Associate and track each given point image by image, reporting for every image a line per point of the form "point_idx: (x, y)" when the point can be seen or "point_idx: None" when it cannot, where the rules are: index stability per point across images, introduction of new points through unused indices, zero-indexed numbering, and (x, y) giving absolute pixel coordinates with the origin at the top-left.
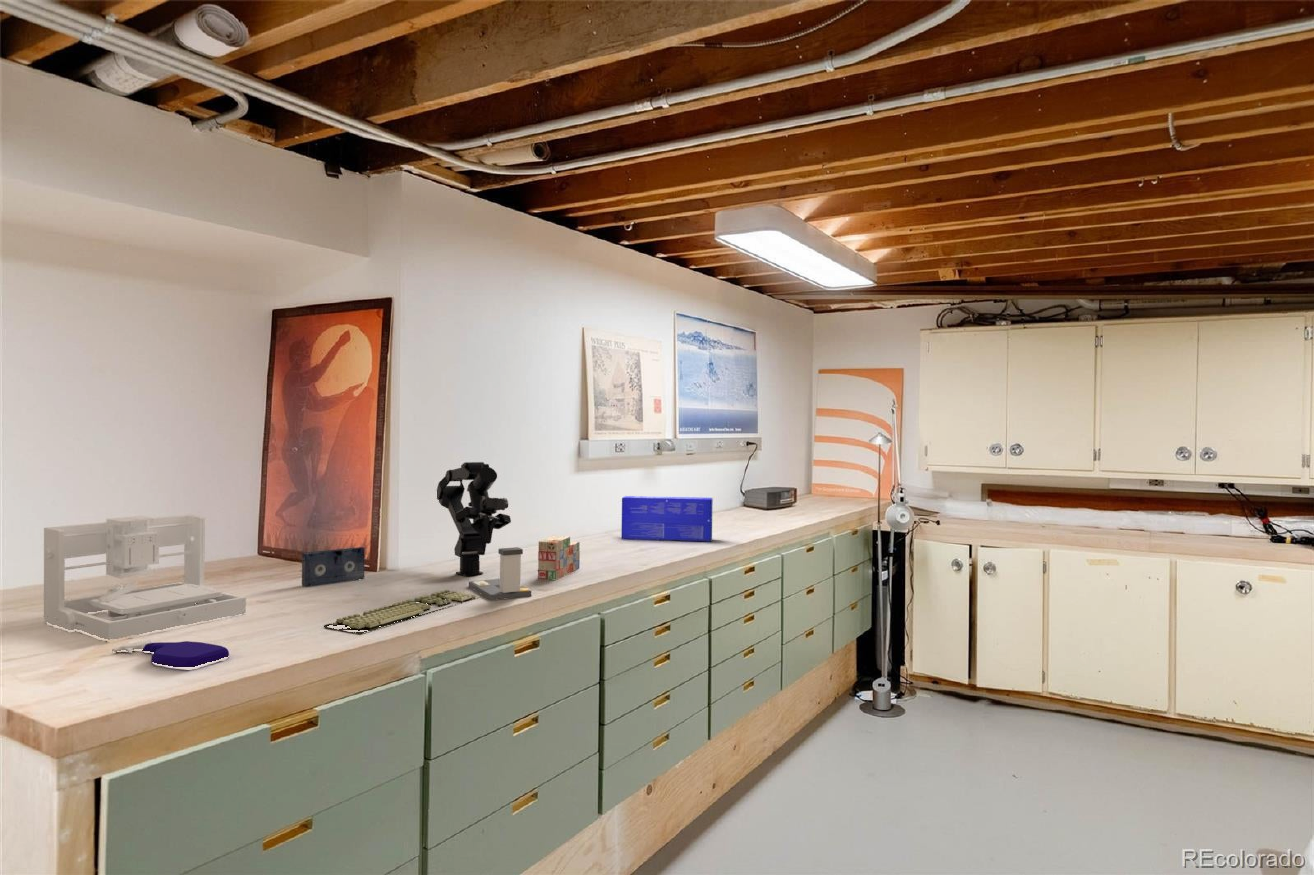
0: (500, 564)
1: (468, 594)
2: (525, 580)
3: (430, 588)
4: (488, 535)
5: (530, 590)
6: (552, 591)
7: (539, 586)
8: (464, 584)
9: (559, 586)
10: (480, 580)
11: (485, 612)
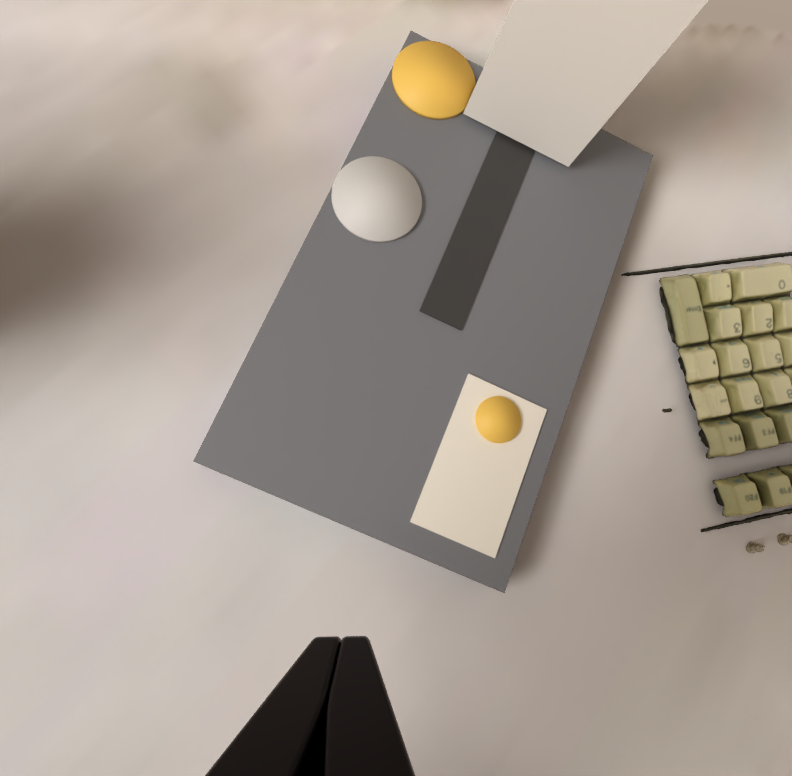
0: (692, 15)
1: (692, 322)
2: (11, 417)
3: (710, 752)
4: (360, 736)
5: (408, 39)
6: (211, 25)
7: (136, 183)
8: (460, 682)
9: (40, 69)
10: (414, 553)
11: (788, 41)
